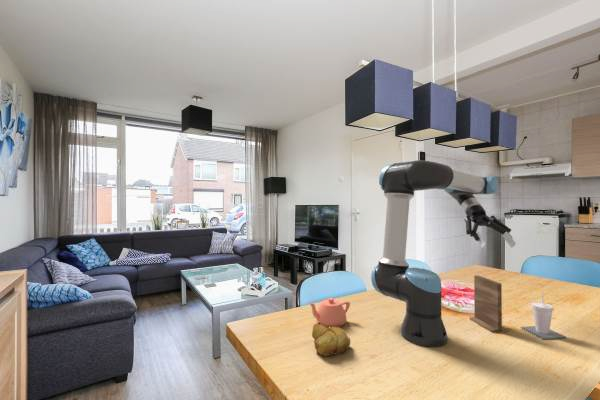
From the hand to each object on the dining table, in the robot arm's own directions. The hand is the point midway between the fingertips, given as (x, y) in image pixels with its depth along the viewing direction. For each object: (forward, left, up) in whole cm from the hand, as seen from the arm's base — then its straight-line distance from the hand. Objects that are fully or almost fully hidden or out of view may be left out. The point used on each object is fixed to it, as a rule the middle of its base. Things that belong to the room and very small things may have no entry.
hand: (499, 246), depth 121 cm
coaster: (+3, -16, -30) cm, 34 cm away
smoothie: (+3, -16, -29) cm, 34 cm away
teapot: (-73, +2, -30) cm, 79 cm away
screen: (-12, -8, -30) cm, 33 cm away
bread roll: (-76, -19, -30) cm, 84 cm away
